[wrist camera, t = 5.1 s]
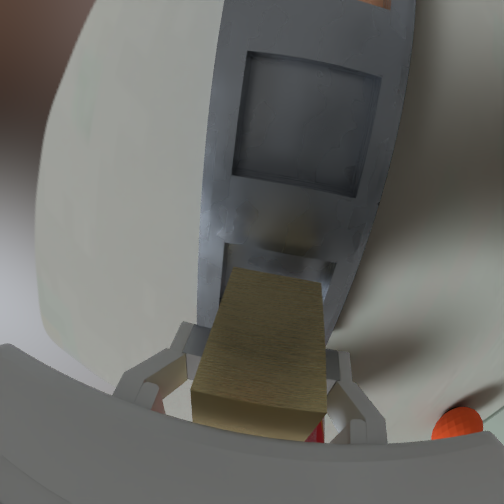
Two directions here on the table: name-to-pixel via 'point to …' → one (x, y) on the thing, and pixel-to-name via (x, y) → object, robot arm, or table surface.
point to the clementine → (457, 423)
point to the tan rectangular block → (264, 359)
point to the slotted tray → (299, 140)
